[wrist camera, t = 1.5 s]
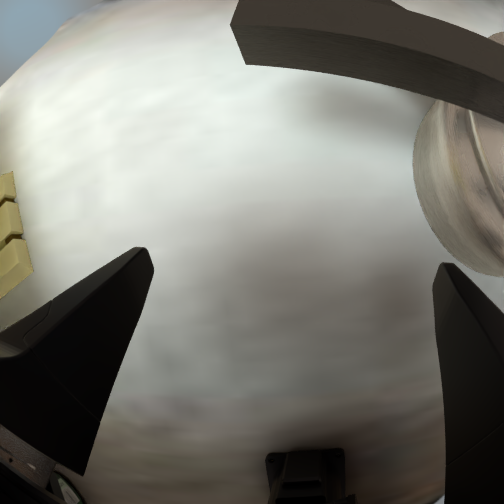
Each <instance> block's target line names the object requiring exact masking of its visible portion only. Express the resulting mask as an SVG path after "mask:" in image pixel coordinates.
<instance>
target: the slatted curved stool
mask: <svg viewBox="0 0 504 504" xmlns="http://www.w3.org/2000/svg"><path fill="white" fill-rule="evenodd" d="M15 198H16V191H15V184H14V177H13V171H12V172H10V173H7V174H3V175H2V176H1V177H0V299H1V298H2V297H3V296H5V295H6V294H7V293H8V292H9V291H10V290H12V289H13V288H14V287H15V286H16V285H18V284H19V283H20V282H21V281H22V280H24V279H25V278H26V277H27V276H29V275H30V274H31V273H32V272H33V267H32V264H31V260H30V256H29V253H28V249H27V245H26V240H21V234H22V233H23V227H22V223H21V218H20V213H19V208H18V203H14V199H15Z"/></svg>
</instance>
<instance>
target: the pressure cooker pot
mask: <svg viewBox="0 0 504 504" xmlns="http://www.w3.org/2000/svg"><path fill="white" fill-rule="evenodd" d="M365 1H370V2H375V3H380V4H385V5H389V6H393V7H397V8H401V9H405V8H403V7H402V6H400V5H398V4H396V3H395V2H393V1H391V0H365ZM405 10H406V9H405ZM413 173H414V181H415V186H416V191H417V195H418V198H419V201H420V205H421V207H422V210H423V212H424V214H425V217H426V219H427V221H428V223H429V225H430V227H431V228H432V230H433V232H434V233H435V235H436V236H437V238H438V239H439V241H440V242H441V243H442V244H443V246H444V247H445V248H446V249H447V250H448V252H450V253H451V254H452V255H453V256H454V257H455V258H456V259H457V260H458V261H460V262H461V263H462V264H464V265H465V266H467V267H468V268H470V269H472V270H474V271H476V272H479V273H482V274H485V275H489V276H496V277H504V218H503V216H502V215H501V213H500V211H499V210H498V208H497V206H496V204H495V202H494V200H493V198H492V196H491V194H490V192H489V191H488V188H487V186H486V183H485V181H484V179H483V176H482V174H481V172H480V169H479V166H478V163H477V161H476V158H475V155H474V152H473V148H472V145H471V141H470V138H469V134H468V129H467V124H466V119H465V110H464V108H463V107H460V106H457V105H454V104H451V103H448V102H445V101H442V100H439V99H437V100H436V101H435V103H434V104H433V106H432V107H431V108H430V110H429V111H428V113H427V114H426V116H425V117H424V119H423V120H422V122H421V125H420V127H419V129H418V131H417V135H416V139H415V143H414V150H413Z"/></svg>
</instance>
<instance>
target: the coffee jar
mask: <svg viewBox="0 0 504 504" xmlns="http://www.w3.org/2000/svg"><path fill="white" fill-rule="evenodd" d="M53 473H54V472H53ZM55 474H56V475H57V478H58V481H59V484H60V487H61V490H62V493H63V496H64V499H65V501H66V502H67V503H68V504H83V502H82V500H81V498H80V496H79V495H78V493H77V492H76V491H75V489H74V488H73V487H72V486H71V485H70V484H69V483H68V482H67V481H65V480H64V479H63V478H62V477H61V476H60V475H59V474H57V473H55Z"/></svg>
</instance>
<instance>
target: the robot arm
mask: <svg viewBox="0 0 504 504" xmlns="http://www.w3.org/2000/svg"><path fill="white" fill-rule="evenodd" d="M153 274H154V266H153V263H152V261H151V258H150V255H149V252H148V250H147V249H146V248H145V247H134V248H132V249H130V250H129V251H127V252H125V253H124V254H122V255H121V256H119V257H117V258H116V259H114V260H112V261H111V262H109V263H108V264H106V265H104V266H103V267H101V268H100V269H98V270H96V271H95V272H93V273H92V274H90V275H89V276H87V277H86V278H84V279H82V280H81V281H79V282H78V283H76V284H75V285H73V286H72V287H70V288H69V289H67V290H66V291H64V292H63V293H61V294H60V295H58V296H57V297H55V298H54V299H53V300H50V301H49V302H48V303H46V304H45V305H43V306H42V307H40V308H39V309H37V310H36V311H34V312H33V313H31V314H29V315H28V316H26V317H25V318H23V319H21V320H20V321H18V322H16V323H15V324H13V325H11V326H10V327H8V328H7V329H5V330H3V331H2V332H0V504H68V503H67V502H66V501H65V499H64V496H63V493H62V490H61V487H60V484H59V481H58V478H57V475H56V474H55V473H53V471H54V468H55V466H56V464H57V463H58V464H60V465H61V466H63V467H65V468H67V469H69V470H71V471H73V472H74V473H76V474H78V475H80V476H82V477H83V475H84V473H85V470H86V467H87V463H88V460H89V457H90V453H91V450H92V447H93V444H94V441H95V438H96V435H97V432H98V429H99V426H100V421H101V419H102V416H103V413H104V410H105V408H106V405H107V402H108V399H109V396H110V393H111V391H112V388H113V385H114V382H115V380H116V377H117V374H118V372H119V369H120V366H121V364H122V361H123V358H124V356H125V353H126V351H127V348H128V346H129V343H130V340H131V338H132V335H133V333H134V330H135V328H136V326H137V323H138V321H139V318H140V316H141V313H142V310H143V307H144V304H145V300H146V297H147V294H148V291H149V287H150V284H151V281H152V278H153ZM432 292H433V303H434V317H435V333H436V342H437V349H438V356H439V363H440V372H441V381H442V391H443V402H444V417H445V440H446V474H445V499H444V504H504V314H503V313H502V311H501V310H500V309H499V308H498V307H497V306H496V305H495V304H494V303H493V302H492V301H491V300H490V299H489V298H488V297H487V296H486V295H485V294H484V293H483V292H482V291H481V290H480V288H479V287H478V286H477V285H476V284H475V283H474V282H473V281H472V280H470V279H469V278H468V277H467V276H466V275H465V274H464V273H463V272H462V271H461V270H460V269H459V268H458V267H457V266H456V265H455V264H454V263H445V262H442V263H441V264H440V265H439V267H438V270H437V273H436V276H435V279H434V282H433V288H432ZM337 453H340V455H336V454H337ZM269 459H274V460H273V461H271V460H269ZM265 462H266V469H267V475H268V481H269V487H270V497H269V501H268V504H358V502H357V498H356V494H352V495H348V497H345V455H344V450H343V449H341V448H337V449H329V450H311V451H298V452H289V453H279V454H269V455H267V456H266V459H265Z"/></svg>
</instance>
